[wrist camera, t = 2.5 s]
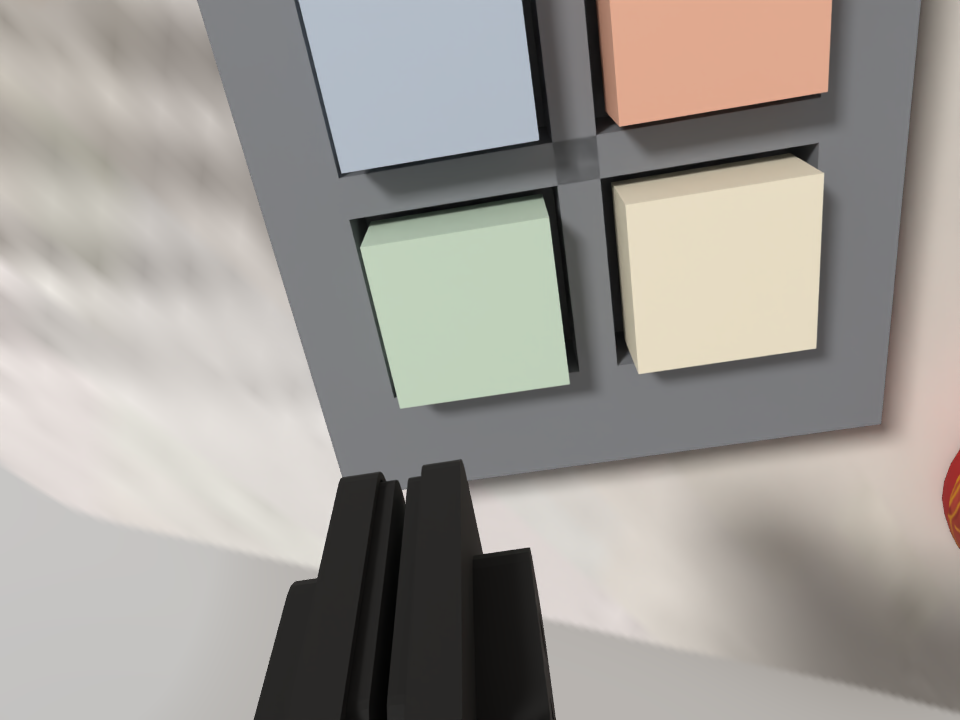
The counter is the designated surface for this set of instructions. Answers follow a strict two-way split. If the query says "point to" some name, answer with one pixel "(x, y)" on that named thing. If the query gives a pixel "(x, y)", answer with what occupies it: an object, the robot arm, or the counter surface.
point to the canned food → (953, 498)
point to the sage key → (467, 301)
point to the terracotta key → (709, 54)
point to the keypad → (578, 244)
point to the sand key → (719, 262)
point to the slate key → (421, 77)
